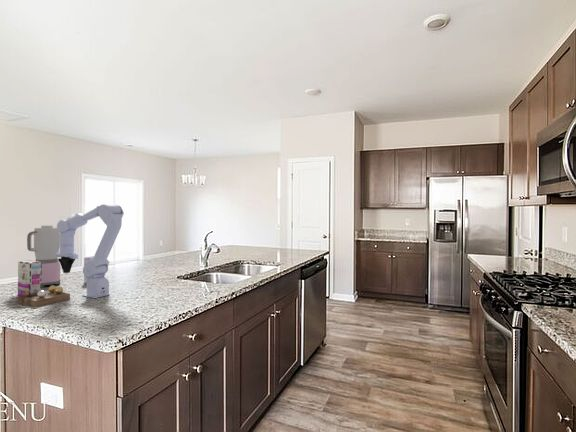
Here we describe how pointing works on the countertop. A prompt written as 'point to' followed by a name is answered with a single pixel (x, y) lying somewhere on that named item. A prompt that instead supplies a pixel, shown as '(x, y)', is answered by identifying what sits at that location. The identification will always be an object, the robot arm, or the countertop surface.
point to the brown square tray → (36, 301)
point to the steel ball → (41, 294)
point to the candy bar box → (29, 277)
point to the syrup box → (85, 264)
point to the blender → (46, 252)
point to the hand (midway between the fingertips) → (66, 272)
